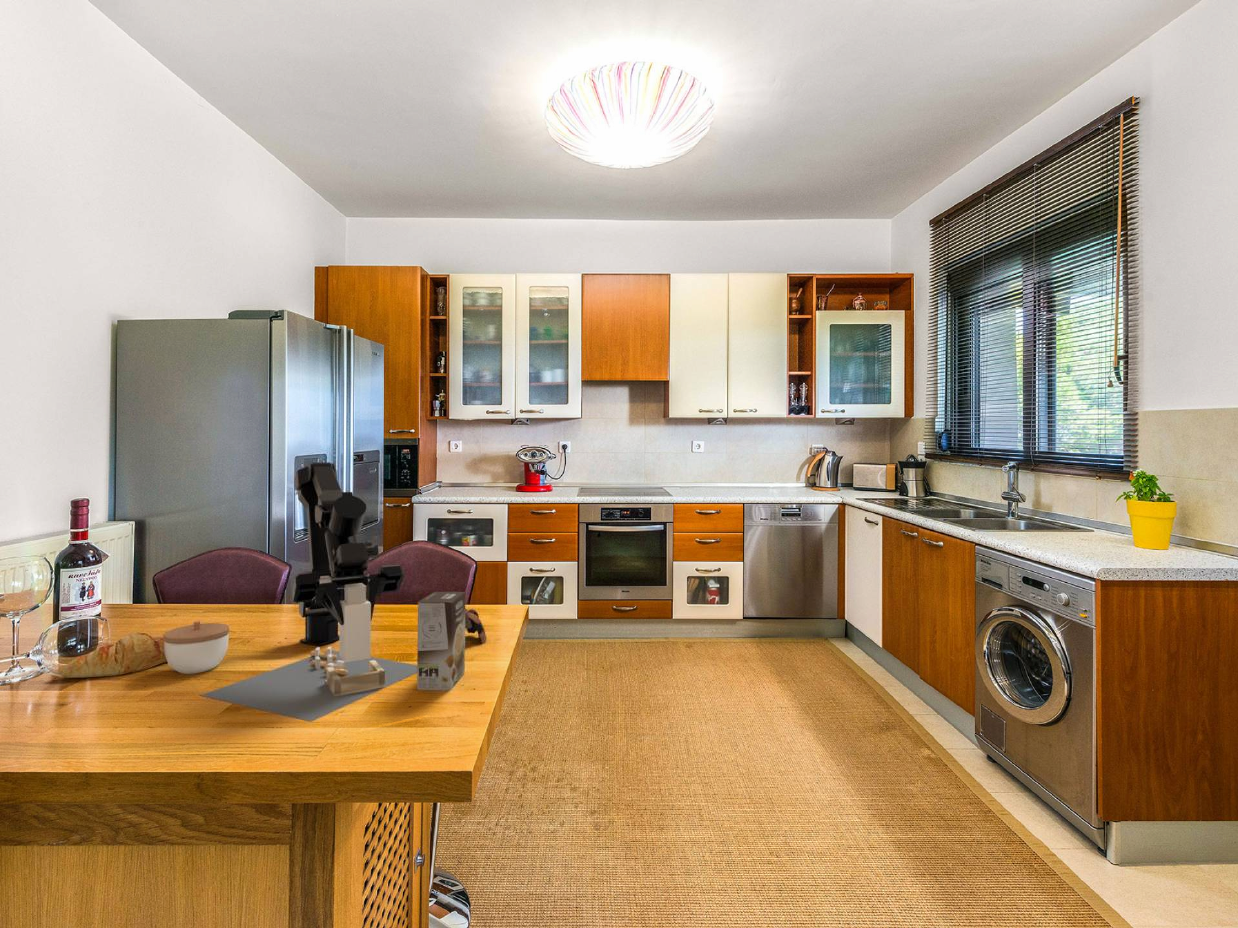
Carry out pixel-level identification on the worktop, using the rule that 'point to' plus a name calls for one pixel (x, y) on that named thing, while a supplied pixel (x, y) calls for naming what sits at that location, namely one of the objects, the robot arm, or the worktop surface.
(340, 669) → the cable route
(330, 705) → the slate mat
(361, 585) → the white square bottle
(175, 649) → the lidded jar
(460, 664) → the coffee box
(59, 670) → the bread loaf
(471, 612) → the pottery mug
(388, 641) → the worktop surface
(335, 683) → the end holder
